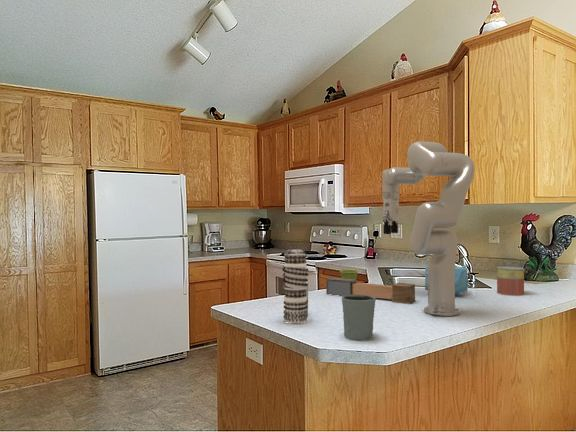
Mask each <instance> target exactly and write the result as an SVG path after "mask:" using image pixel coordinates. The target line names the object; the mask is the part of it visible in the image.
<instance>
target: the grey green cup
mask: <svg viewBox="0 0 576 432" xmlns="http://www.w3.org/2000/svg"><path fill="white" fill-rule="evenodd" d="M376 300H377V298H376V297H373V296H368V295H345V296H341V304H342V313H343V315H342V316H343V334H344V338H346V339H348V340H350V341H351V340H352V341H370V339H373V335H374V332H373V331H374V320H375V307H376Z"/></svg>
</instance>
